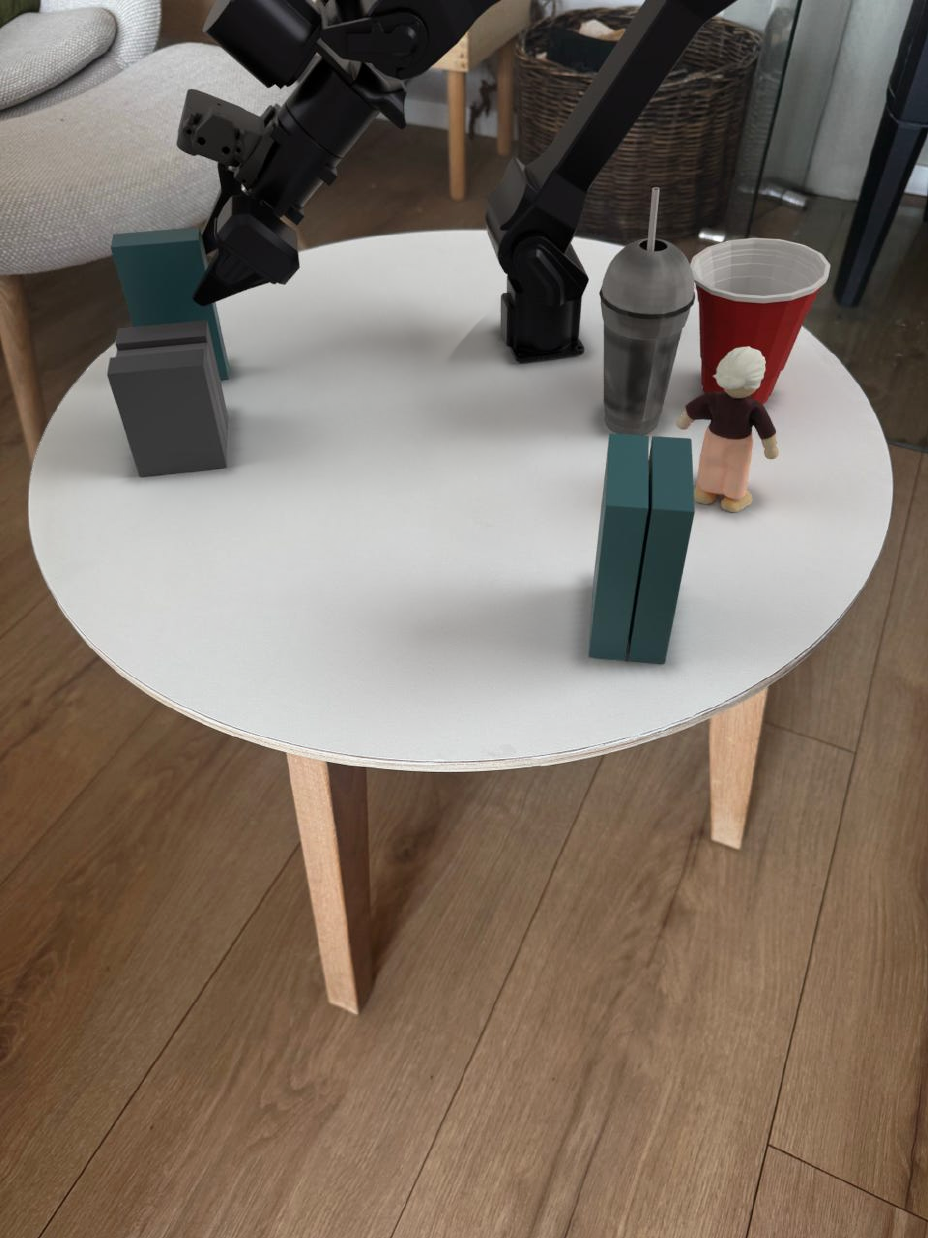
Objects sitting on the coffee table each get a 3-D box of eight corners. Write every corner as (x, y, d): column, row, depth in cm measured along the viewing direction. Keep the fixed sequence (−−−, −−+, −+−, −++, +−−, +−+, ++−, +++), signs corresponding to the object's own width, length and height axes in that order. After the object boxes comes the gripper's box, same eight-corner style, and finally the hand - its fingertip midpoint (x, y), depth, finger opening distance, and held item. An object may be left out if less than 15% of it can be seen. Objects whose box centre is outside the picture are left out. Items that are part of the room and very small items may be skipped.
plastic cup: (696, 347, 92) (718, 220, 83) (812, 378, 88) (847, 248, 79) (650, 405, 85) (669, 274, 77) (773, 442, 82) (807, 308, 73)
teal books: (592, 584, 70) (609, 432, 61) (664, 590, 70) (691, 437, 60) (588, 657, 65) (605, 505, 56) (664, 664, 65) (695, 511, 56)
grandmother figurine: (768, 490, 77) (805, 344, 68) (761, 520, 75) (799, 373, 66) (670, 471, 79) (694, 327, 70) (660, 500, 77) (684, 355, 67)
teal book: (229, 365, 91) (199, 226, 82) (228, 379, 89) (198, 239, 80) (151, 372, 90) (113, 233, 81) (149, 386, 89) (110, 246, 79)
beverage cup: (685, 407, 85) (725, 170, 71) (660, 454, 81) (697, 211, 66) (604, 389, 87) (628, 155, 73) (575, 433, 83) (594, 193, 68)
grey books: (228, 414, 86) (205, 313, 79) (227, 467, 80) (203, 364, 73) (145, 422, 85) (115, 322, 78) (139, 477, 80) (106, 374, 73)
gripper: (228, 14, 78) (121, 167, 85) (225, 96, 65) (100, 268, 72) (338, 113, 85) (230, 248, 92) (354, 206, 72) (228, 354, 79)
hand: (199, 275), depth 83 cm, fingers open, 9 cm apart
